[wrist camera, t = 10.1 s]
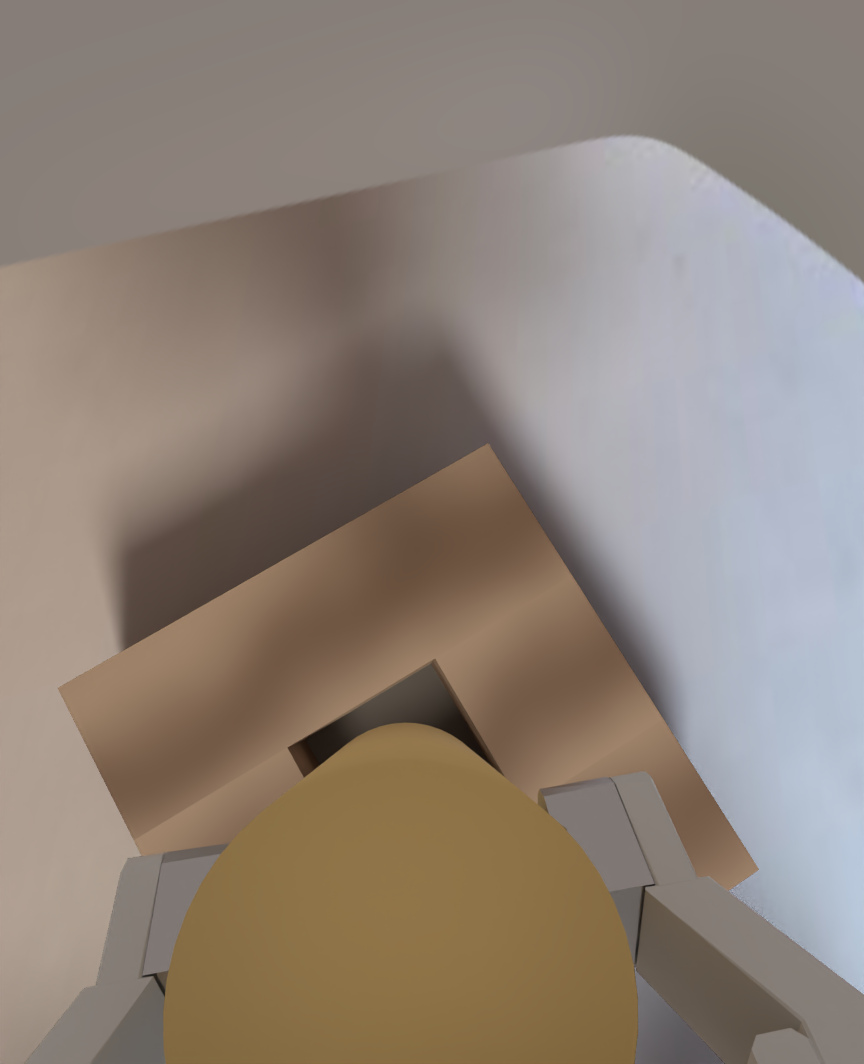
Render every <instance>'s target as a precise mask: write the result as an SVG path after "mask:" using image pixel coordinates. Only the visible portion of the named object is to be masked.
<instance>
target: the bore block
mask: <svg viewBox="0 0 864 1064" xmlns="http://www.w3.org/2000/svg"><path fill="white" fill-rule="evenodd" d="M58 690H59V692H60V694H61V696H62V698H63V700H64V702H65V704H66V706H67V708H68V710H69V712H70V714H71V716H72V718H73V720H74V722H75V724H76V726H77V728H78V730H79V732H80V734H81V736H82V738H83V740H84V742H85V744H86V746H87V748H88V750H89V752H90V754H91V756H92V758H93V760H94V762H95V764H96V766H97V768H98V770H99V772H100V774H101V776H102V778H103V780H104V782H105V784H106V786H107V788H108V790H109V792H110V794H111V796H112V798H113V800H114V802H115V804H116V806H117V808H118V810H119V812H120V814H121V816H122V818H123V820H124V822H125V824H126V826H127V828H128V830H129V832H130V834H131V836H132V838H133V840H134V842H135V843H136V845H137V847H138V849H139V851H140V853H141V855H142V856H145V855H151V854H157V853H163V852H171V851H178V850H184V849H191V848H198V847H204V846H211V845H218V844H224V843H231V842H232V840H233V839H234V838H235V837H236V836H237V834H238V833H239V832H240V831H241V830H242V829H243V828H245V827H246V826H247V825H248V824H249V823H250V822H251V821H252V820H253V819H254V818H255V817H257V816H258V815H259V814H260V813H261V812H262V811H263V810H264V809H266V808H267V807H268V806H269V805H271V804H272V803H273V802H274V801H276V800H277V799H278V798H279V797H281V796H282V795H283V794H285V793H286V792H287V791H288V790H290V789H291V788H292V787H293V786H295V785H296V784H297V783H298V782H300V781H301V780H302V779H303V778H305V777H306V776H307V775H308V774H310V773H311V772H312V771H313V770H315V769H316V768H317V767H319V766H320V765H321V764H322V763H324V762H325V761H326V760H327V759H329V758H330V757H331V756H332V755H334V754H335V753H336V752H337V751H339V750H340V749H341V748H342V747H344V746H345V745H346V744H347V743H349V742H350V741H352V740H353V739H355V738H356V737H357V736H359V735H361V734H363V733H365V732H367V731H369V730H372V729H374V728H377V727H380V726H384V725H388V724H394V723H418V724H423V725H429V726H432V727H435V728H438V729H441V730H443V731H445V732H447V733H449V734H451V735H452V736H454V737H455V738H457V739H458V740H460V741H461V742H463V743H464V744H465V745H466V746H468V747H469V748H470V749H471V750H472V751H474V752H475V753H476V754H477V755H478V756H480V757H481V758H482V759H483V760H485V761H486V762H487V763H488V764H489V765H491V766H492V767H493V768H494V769H495V770H497V771H498V772H499V773H500V774H502V775H503V776H504V777H505V778H506V779H508V780H509V781H510V782H511V783H512V784H514V785H515V786H516V787H517V788H519V789H520V790H521V791H522V792H523V793H525V794H526V795H527V796H528V797H529V798H531V799H532V800H533V801H534V802H536V803H537V804H538V791H539V789H542V788H548V787H553V786H558V785H564V784H569V783H574V782H580V781H585V780H591V779H596V778H601V777H608V778H609V777H614V776H619V775H624V774H630V773H635V772H640V771H646V772H647V773H648V774H649V775H650V776H651V777H652V779H653V782H654V784H655V786H656V788H657V790H658V792H659V795H660V797H661V799H662V801H663V803H664V805H665V808H666V810H667V812H668V814H669V816H670V818H671V821H672V823H673V825H674V827H675V829H676V831H677V834H678V836H679V838H680V840H681V842H682V844H683V847H684V849H685V851H686V853H687V855H688V857H689V860H690V862H691V864H692V866H693V868H694V870H695V873H696V875H697V877H698V878H700V877H707V876H709V877H710V878H712V879H713V880H714V881H716V882H717V883H718V884H720V885H721V886H722V887H724V888H725V889H726V890H727V891H729V890H730V889H732V888H733V887H735V886H736V885H737V884H739V883H740V882H742V881H743V880H745V879H746V878H748V877H749V876H751V875H752V874H753V873H755V872H756V871H758V870H759V869H758V867H757V866H756V864H755V862H754V861H753V859H752V858H751V856H750V855H749V853H748V851H747V850H746V848H745V847H744V845H743V844H742V842H741V840H740V839H739V837H738V836H737V834H736V833H735V831H734V829H733V828H732V826H731V825H730V823H729V822H728V820H727V818H726V817H725V815H724V814H723V812H722V811H721V809H720V807H719V806H718V804H717V803H716V801H715V799H714V798H713V796H712V795H711V793H710V792H709V790H708V788H707V787H706V785H705V784H704V782H703V781H702V779H701V777H700V776H699V774H698V773H697V771H696V770H695V768H694V766H693V765H692V763H691V762H690V760H689V759H688V757H687V755H686V754H685V752H684V751H683V749H682V748H681V746H680V744H679V743H678V741H677V740H676V738H675V737H674V735H673V733H672V732H671V730H670V729H669V727H668V725H667V724H666V722H665V721H664V719H663V718H662V716H661V714H660V713H659V711H658V710H657V708H656V707H655V705H654V703H653V702H652V700H651V699H650V697H649V696H648V694H647V692H646V691H645V689H644V688H643V686H642V685H641V683H640V681H639V680H638V678H637V677H636V675H635V674H634V672H633V670H632V669H631V667H630V666H629V664H628V663H627V661H626V659H625V658H624V656H623V655H622V653H621V652H620V650H619V648H618V647H617V645H616V644H615V642H614V640H613V639H612V637H611V636H610V634H609V633H608V631H607V629H606V628H605V626H604V625H603V623H602V622H601V620H600V618H599V617H598V615H597V614H596V612H595V611H594V609H593V607H592V606H591V604H590V603H589V601H588V600H587V598H586V596H585V595H584V593H583V592H582V590H581V589H580V587H579V585H578V584H577V582H576V581H575V579H574V578H573V576H572V574H571V573H570V571H569V570H568V568H567V567H566V565H565V563H564V562H563V560H562V559H561V557H560V555H559V554H558V552H557V551H556V549H555V548H554V546H553V544H552V543H551V541H550V540H549V538H548V537H547V535H546V533H545V532H544V530H543V529H542V527H541V526H540V524H539V522H538V521H537V519H536V518H535V516H534V515H533V513H532V511H531V510H530V508H529V507H528V505H527V504H526V502H525V500H524V499H523V497H522V496H521V494H520V493H519V491H518V489H517V488H516V486H515V485H514V483H513V481H512V480H511V478H510V477H509V475H508V474H507V472H506V470H505V469H504V467H503V466H502V464H501V463H500V461H499V459H498V458H497V456H496V455H495V453H494V452H493V450H492V448H491V447H490V445H489V444H486V445H484V446H482V447H481V448H479V449H477V450H475V451H474V452H472V453H470V454H468V455H467V456H465V457H463V458H461V459H459V460H458V461H456V462H454V463H452V464H451V465H449V466H447V467H445V468H444V469H442V470H440V471H438V472H437V473H435V474H433V475H431V476H430V477H428V478H426V479H424V480H423V481H421V482H419V483H417V484H416V485H414V486H412V487H410V488H409V489H407V490H405V491H403V492H401V493H400V494H398V495H396V496H394V497H393V498H391V499H389V500H387V501H386V502H384V503H382V504H380V505H379V506H377V507H375V508H373V509H372V510H370V511H368V512H366V513H365V514H363V515H361V516H359V517H358V518H356V519H354V520H352V521H350V522H349V523H347V524H345V525H343V526H342V527H340V528H338V529H336V530H335V531H333V532H331V533H329V534H328V535H326V536H324V537H322V538H321V539H319V540H317V541H315V542H314V543H312V544H310V545H308V546H307V547H305V548H303V549H301V550H300V551H298V552H296V553H294V554H292V555H291V556H289V557H287V558H285V559H284V560H282V561H280V562H278V563H277V564H275V565H273V566H271V567H270V568H268V569H266V570H264V571H263V572H261V573H259V574H257V575H256V576H254V577H252V578H250V579H249V580H247V581H245V582H243V583H241V584H240V585H238V586H236V587H234V588H233V589H231V590H229V591H227V592H226V593H224V594H222V595H220V596H219V597H217V598H215V599H213V600H212V601H210V602H208V603H206V604H205V605H203V606H201V607H199V608H198V609H196V610H194V611H192V612H191V613H189V614H187V615H185V616H183V617H182V618H180V619H178V620H176V621H175V622H173V623H171V624H169V625H168V626H166V627H164V628H162V629H161V630H159V631H157V632H155V633H154V634H152V635H150V636H148V637H147V638H145V639H143V640H141V641H140V642H138V643H136V644H134V645H132V646H131V647H129V648H127V649H125V650H124V651H122V652H120V653H118V654H117V655H115V656H113V657H111V658H110V659H108V660H106V661H104V662H103V663H101V664H99V665H97V666H96V667H94V668H92V669H90V670H89V671H87V672H85V673H83V674H82V675H80V676H78V677H76V678H74V679H73V680H71V681H69V682H67V683H66V684H64V685H62V686H60V687H59V688H58Z"/></svg>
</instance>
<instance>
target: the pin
mask: <svg viewBox="0 0 864 1064" xmlns="http://www.w3.org/2000/svg"><path fill="white" fill-rule="evenodd" d="M637 1036H638V996H637V988H636V980H635V972H634V964H633V960H632V956H631V952H630V948H629V944H628V940H627V936H626V932H625V929H624V927H623V924H622V921H621V919H620V916H619V913H618V911H617V908H616V905H615V903H614V901H613V899H612V897H611V895H610V893H609V891H608V889H607V887H606V885H605V883H604V881H603V879H602V878H601V876H600V874H599V872H598V871H597V869H596V868H595V866H594V865H593V863H592V862H591V861H590V859H589V858H588V856H587V855H586V853H585V852H584V850H583V849H582V848H581V846H580V845H579V844H578V843H577V842H576V841H575V840H574V839H573V837H572V836H571V835H570V834H569V833H568V832H567V831H566V830H565V828H564V827H563V826H562V825H561V824H560V823H559V822H558V821H556V820H555V819H554V818H553V817H552V816H551V815H549V814H548V813H547V812H546V811H545V810H544V809H543V808H541V807H540V806H539V805H538V804H537V803H536V802H534V801H533V800H532V799H531V798H529V797H528V796H527V795H526V794H525V793H523V792H522V791H521V790H520V789H519V788H517V787H516V786H515V785H514V784H512V783H511V782H510V781H509V780H508V779H506V778H505V777H504V776H503V775H502V774H500V773H499V772H498V771H497V770H495V769H494V768H493V767H492V766H491V765H489V764H488V763H487V762H486V761H485V760H483V759H482V758H481V757H480V756H478V755H477V754H476V753H475V752H474V751H472V750H471V749H470V748H469V747H468V746H466V745H465V744H464V743H463V742H461V741H460V740H458V739H457V738H455V737H454V736H452V735H451V734H449V733H447V732H445V731H443V730H441V729H438V728H435V727H432V726H429V725H423V724H418V723H394V724H388V725H384V726H380V727H377V728H374V729H372V730H369V731H367V732H365V733H363V734H361V735H359V736H357V737H356V738H355V739H353V740H352V741H350V742H349V743H347V744H346V745H345V746H344V747H342V748H341V749H340V750H339V751H337V752H336V753H335V754H334V755H332V756H331V757H330V758H329V759H327V760H326V761H325V762H324V763H322V764H321V765H320V766H319V767H317V768H316V769H315V770H313V771H312V772H311V773H310V774H308V775H307V776H306V777H305V778H303V779H302V780H301V781H300V782H298V783H297V784H296V785H295V786H293V787H292V788H291V789H290V790H288V791H287V792H286V793H285V794H283V795H282V796H281V797H279V798H278V799H277V800H276V801H274V802H273V803H272V804H271V805H269V806H268V807H267V808H266V809H264V810H263V811H262V812H261V813H260V814H259V815H258V816H257V817H255V818H254V819H253V820H252V821H251V822H250V823H249V824H248V825H247V826H246V827H245V828H243V829H242V830H241V831H240V832H239V833H238V834H237V836H236V837H235V838H234V839H233V840H232V842H231V843H230V844H229V845H228V846H227V847H226V849H225V850H224V851H223V852H222V853H221V854H220V856H219V857H218V858H217V860H216V861H215V863H214V864H213V866H212V867H211V869H210V871H209V872H208V874H207V875H206V877H205V878H204V880H203V881H202V883H201V884H200V886H199V888H198V890H197V892H196V894H195V896H194V898H193V900H192V902H191V904H190V906H189V908H188V910H187V912H186V915H185V917H184V920H183V923H182V926H181V929H180V931H179V934H178V937H177V940H176V943H175V945H174V950H173V954H172V958H171V963H170V967H169V971H168V976H167V982H166V991H165V1001H164V1010H163V1041H164V1054H165V1062H166V1064H634V1063H635V1054H636V1045H637Z"/></svg>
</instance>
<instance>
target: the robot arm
mask: <svg viewBox="0 0 864 1064" xmlns="http://www.w3.org/2000/svg"><path fill="white" fill-rule="evenodd" d="M538 805H539V806H540V807H541V808H543V809H544V810H545V811H546V812H547V813H548V814H549V815H551V816H552V817H553V818H554V819H555V820H556V821H558V822H559V823H560V824H561V825H562V826H563V827H564V828H565V830H566V831H567V832H568V833H569V834H570V835H571V836H572V837H573V839H574V840H575V841H576V842H577V843H578V844H579V845H580V846H581V848H582V849H583V850H584V852H585V853H586V855H587V856H588V858H589V859H590V861H591V862H592V863H593V865H594V866H595V868H596V869H597V871H598V872H599V874H600V876H601V878H602V879H603V881H604V883H605V885H606V887H607V889H608V891H609V893H610V895H611V897H612V899H613V901H614V903H615V905H616V908H617V911H618V913H619V916H620V919H621V921H622V924H623V927H624V929H625V932H626V936H627V940H628V944H629V948H630V952H631V956H632V960H633V964H634V967H636V971H637V972H638V973H639V974H640V975H641V976H642V977H643V978H644V979H645V980H646V981H647V982H648V983H649V984H650V985H651V986H652V987H653V989H654V990H655V991H656V992H657V993H658V994H659V995H660V996H661V997H662V998H663V999H664V1000H665V1001H666V1002H667V1003H668V1004H669V1005H670V1006H671V1007H672V1009H673V1010H674V1011H675V1012H676V1013H677V1014H678V1015H679V1016H680V1017H681V1018H682V1019H683V1020H684V1021H685V1022H686V1023H687V1024H688V1025H689V1026H690V1027H691V1028H692V1030H693V1031H694V1032H695V1033H696V1034H697V1035H698V1036H699V1037H700V1038H701V1039H702V1040H703V1041H704V1042H705V1043H706V1044H707V1045H708V1046H709V1047H710V1048H711V1049H712V1051H713V1052H714V1053H715V1054H716V1055H717V1056H718V1057H719V1058H720V1059H721V1060H722V1061H723V1062H724V1063H725V1064H864V995H863V994H862V993H861V992H860V991H858V990H857V989H856V988H854V987H853V986H852V985H850V984H849V983H848V982H846V981H845V980H844V979H843V978H841V977H840V976H839V975H837V974H836V973H835V972H833V971H832V970H831V969H829V968H828V967H827V966H826V965H824V964H823V963H822V962H820V961H819V960H818V959H816V958H815V957H814V956H812V955H811V954H810V953H809V952H807V951H806V950H805V949H803V948H802V947H801V946H799V945H798V944H797V943H795V942H794V941H793V940H792V939H790V938H789V937H788V936H786V935H785V934H784V933H782V932H781V931H780V930H778V929H777V928H776V927H775V926H773V925H772V924H771V923H769V922H768V921H767V920H765V919H764V918H763V917H761V916H760V915H759V914H758V913H756V912H755V911H754V910H752V909H751V908H750V907H748V906H747V905H746V904H744V903H743V902H742V901H741V900H739V899H738V898H737V897H735V896H734V895H733V894H731V893H730V892H729V891H727V890H726V889H725V888H724V887H722V886H721V885H720V884H718V883H717V882H716V881H714V880H713V879H712V878H710V877H709V876H707V877H700V878H698V877H697V875H696V873H695V870H694V868H693V866H692V864H691V862H690V860H689V857H688V855H687V853H686V851H685V849H684V847H683V844H682V842H681V840H680V838H679V836H678V834H677V831H676V829H675V827H674V825H673V823H672V821H671V818H670V816H669V814H668V812H667V810H666V808H665V805H664V803H663V801H662V799H661V797H660V795H659V792H658V790H657V788H656V786H655V784H654V782H653V779H652V777H651V776H650V775H649V774H648V773H647V772H646V771H640V772H635V773H630V774H624V775H619V776H614V777H609V778H608V777H601V778H596V779H591V780H585V781H580V782H574V783H569V784H564V785H558V786H553V787H548V788H542V789H539V791H538ZM229 844H230V843H224V844H218V845H211V846H204V847H198V848H191V849H184V850H178V851H171V852H163V853H157V854H151V855H145V856H139V857H133V858H128V860H127V861H126V863H125V865H124V867H123V869H122V871H121V874H120V878H119V883H118V887H117V892H116V896H115V901H114V905H113V910H112V914H111V919H110V923H109V928H108V932H107V937H106V941H105V946H104V950H103V955H102V959H101V964H100V968H99V973H98V977H97V982H96V986H92V987H87V988H84V989H83V990H82V991H81V992H80V994H79V995H78V996H77V997H76V999H75V1000H74V1001H73V1003H72V1004H71V1005H70V1006H69V1008H68V1009H67V1010H66V1011H65V1013H64V1014H63V1015H62V1017H61V1018H60V1019H59V1020H58V1022H57V1023H56V1024H55V1026H54V1027H53V1028H52V1029H51V1031H50V1032H49V1033H48V1034H47V1036H46V1037H45V1038H44V1040H43V1041H42V1042H41V1043H40V1045H39V1046H38V1047H37V1048H36V1050H35V1051H34V1052H33V1054H32V1055H31V1056H30V1057H29V1059H28V1060H27V1061H26V1062H25V1064H166V1062H165V1054H164V1041H163V1010H164V1001H165V991H166V982H167V976H168V971H169V967H170V963H171V958H172V954H173V950H174V945H175V943H176V940H177V937H178V934H179V931H180V929H181V926H182V923H183V920H184V917H185V915H186V912H187V910H188V908H189V906H190V904H191V902H192V900H193V898H194V896H195V894H196V892H197V890H198V888H199V886H200V884H201V883H202V881H203V880H204V878H205V877H206V875H207V874H208V872H209V871H210V869H211V867H212V866H213V864H214V863H215V861H216V860H217V858H218V857H219V856H220V854H221V853H222V852H223V851H224V850H225V849H226V847H227V846H228V845H229Z"/></svg>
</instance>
